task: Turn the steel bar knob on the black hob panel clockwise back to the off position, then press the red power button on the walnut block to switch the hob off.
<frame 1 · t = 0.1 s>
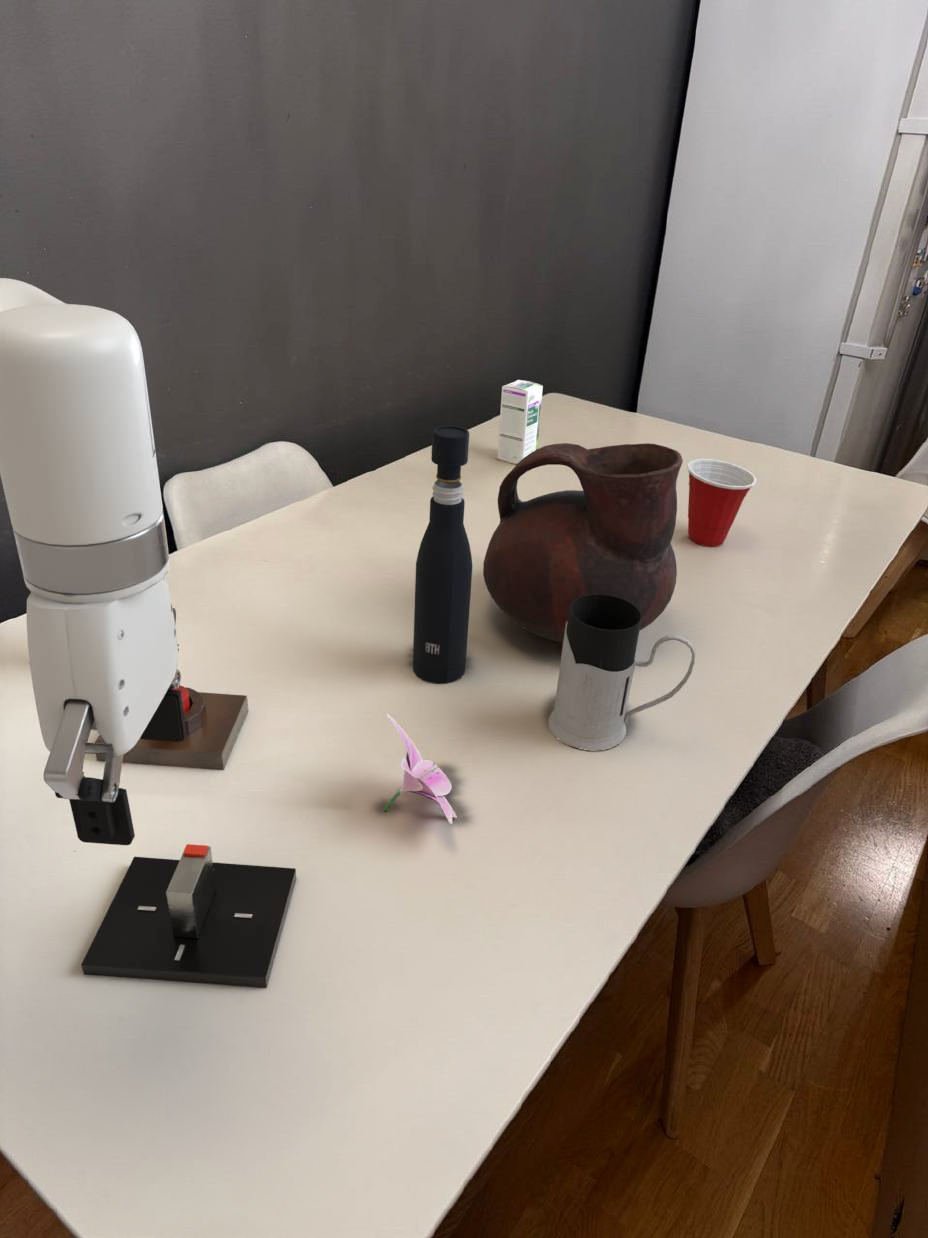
hand: (137, 785, 57), 21 cm above the table, tool pointing down, fingers open, 9 cm apart
plastic cup: (707, 540, 144), on the table
syrup box: (516, 459, 171), on the table
hob panel: (198, 934, 72), on the table
power button: (171, 701, 92), point 4 cm above the table, slide at 0.1 cm
jug: (571, 621, 119), on the table
glass holder: (610, 733, 99), on the table
lily: (421, 814, 86), on the table
beer glass: (91, 664, 104), on the table
hob knob: (191, 890, 70), point 5 cm above the table, hinge at 90.0°
switch block: (175, 735, 94), on the table
black insulated flask: (438, 670, 108), on the table
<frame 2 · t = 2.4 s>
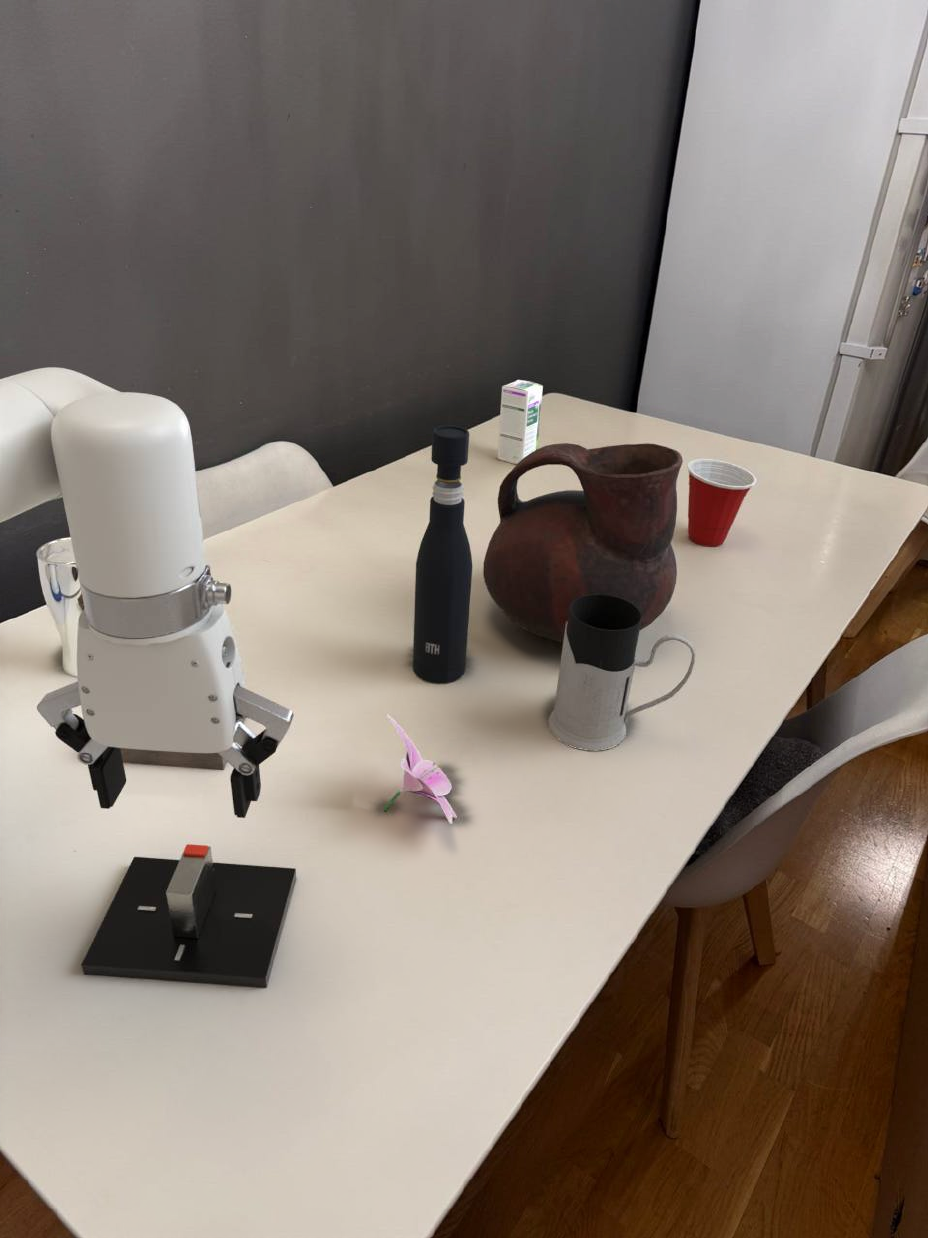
hand: (179, 800, 64), 15 cm above the table, tool pointing down, fingers open, 9 cm apart
nothing on the table moved.
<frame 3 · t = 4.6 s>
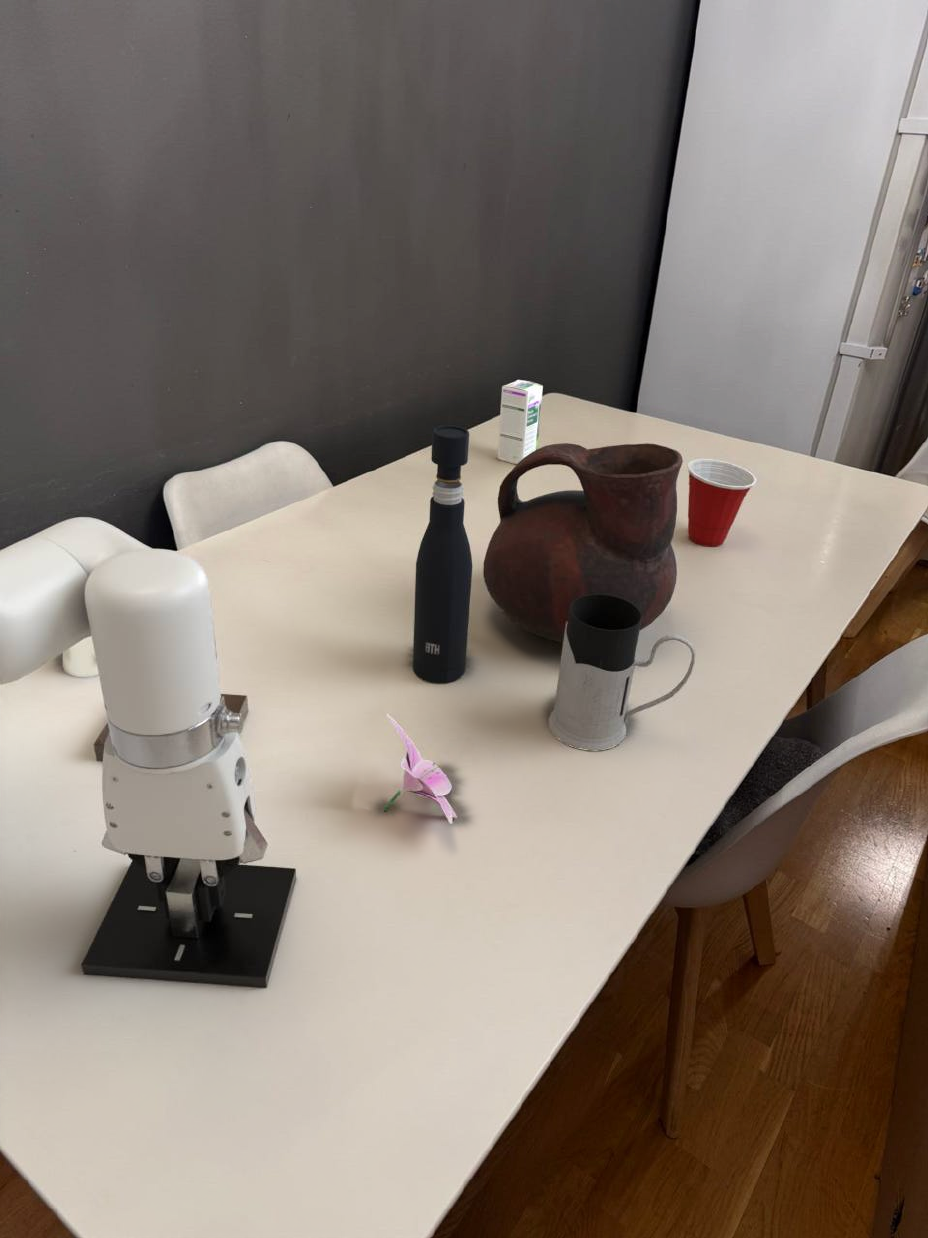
hand: (194, 905, 71), 3 cm above the table, tool pointing down, fingers closed on hob knob, 2 cm apart
hob knob: (191, 890, 70), point 5 cm above the table, hinge at 90.0°, touching gripper
everything else where it was.
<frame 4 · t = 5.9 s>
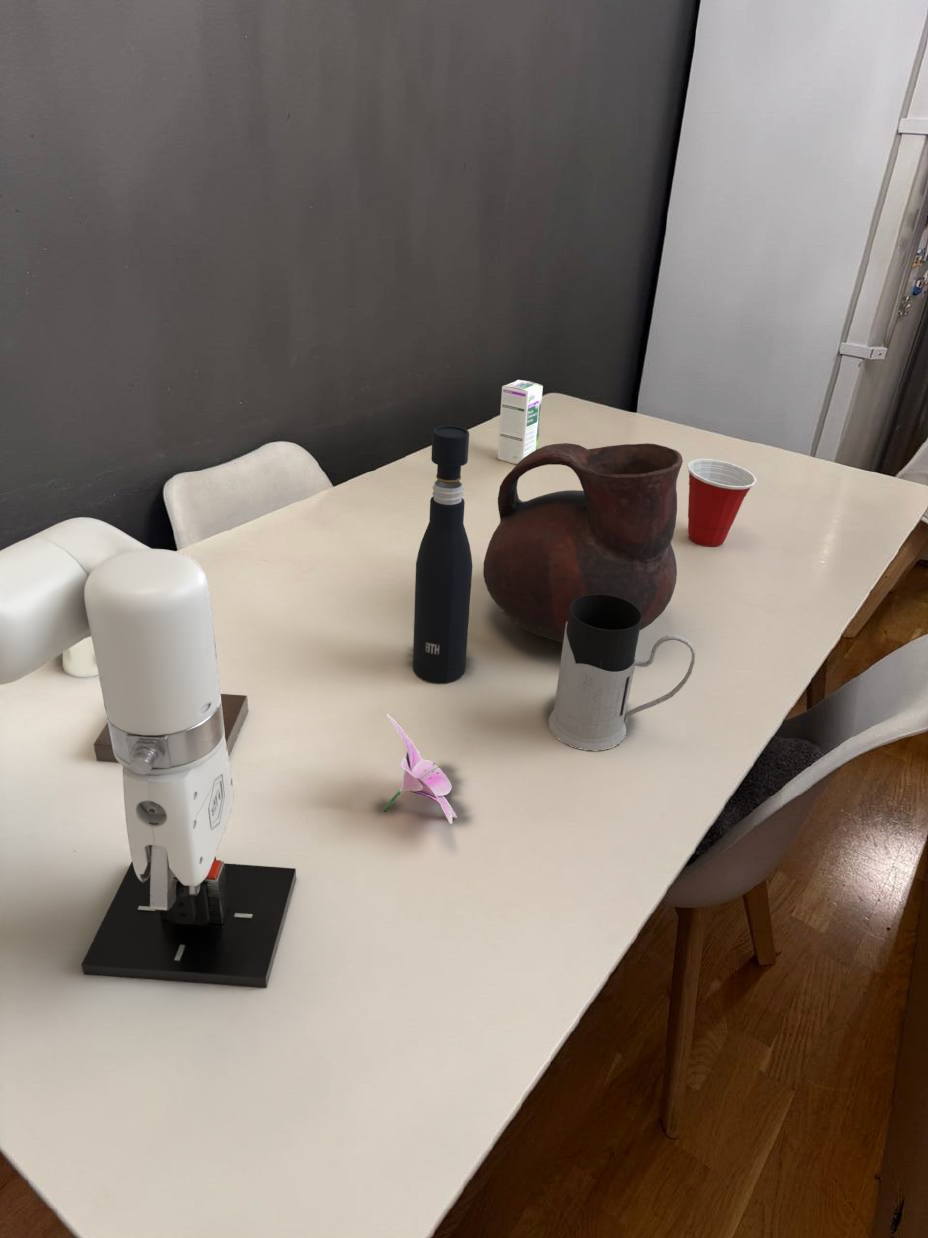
hand: (194, 905, 71), 3 cm above the table, tool pointing down, fingers closed on hob knob, 2 cm apart
hob knob: (191, 890, 70), point 5 cm above the table, hinge at 0.5°, touching gripper
everything else where it was.
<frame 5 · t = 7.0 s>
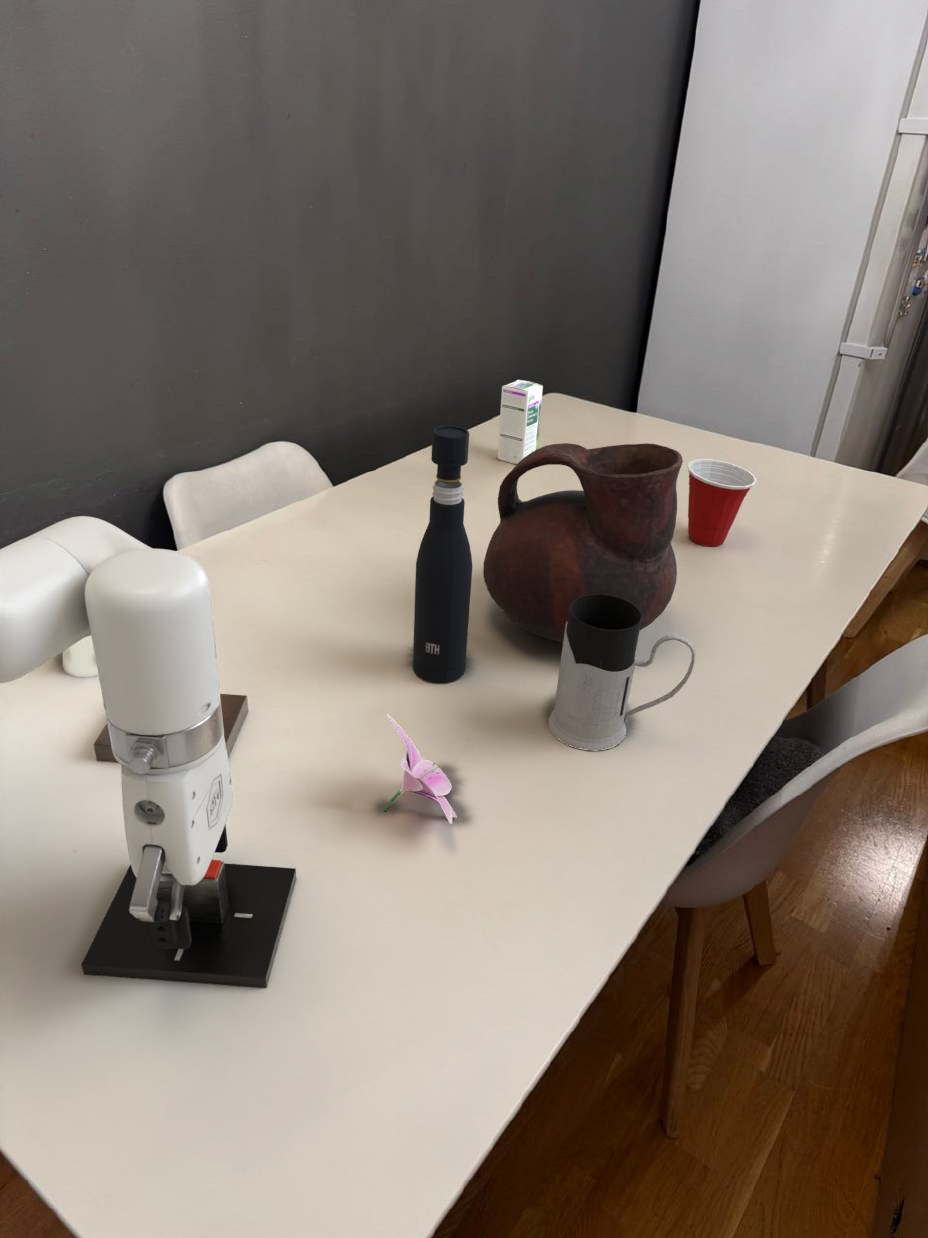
hand: (190, 894, 70), 5 cm above the table, tool pointing down, fingers open, 9 cm apart
hob knob: (191, 890, 70), point 5 cm above the table, hinge at 0.6°
everything else where it was.
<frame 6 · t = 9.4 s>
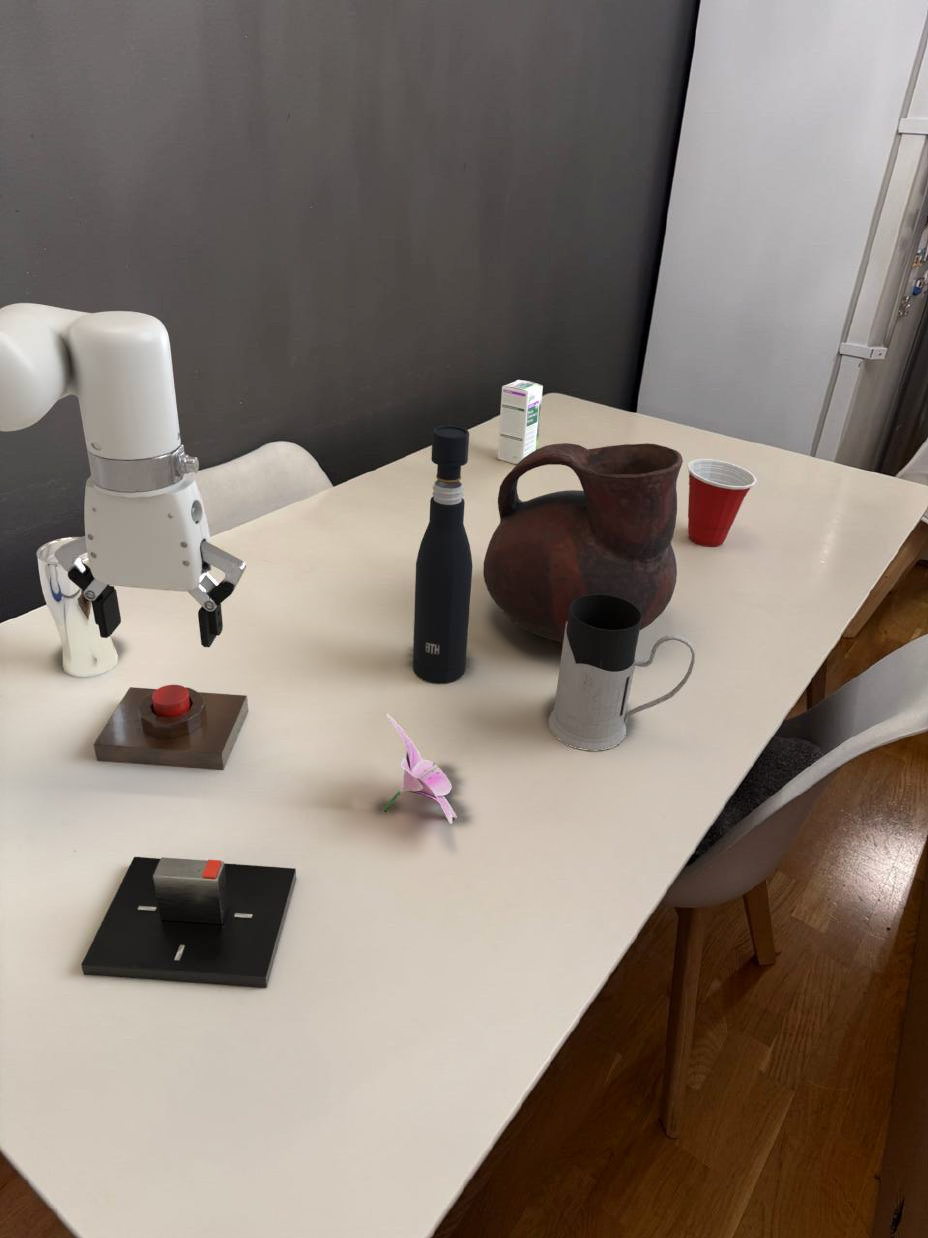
hand: (160, 635, 84), 14 cm above the table, tool pointing down, fingers open, 9 cm apart
nothing on the table moved.
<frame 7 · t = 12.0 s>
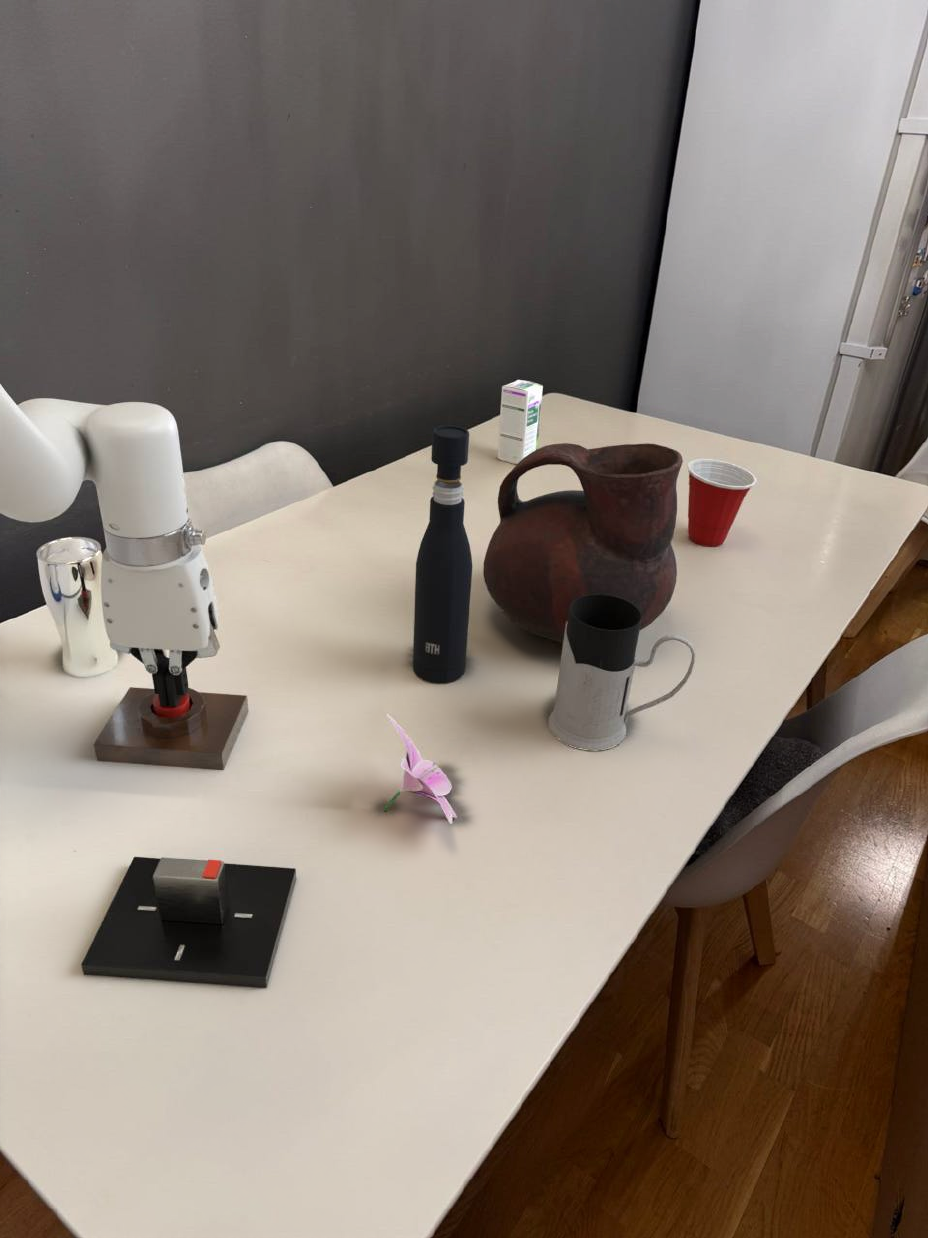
hand: (173, 698, 92), 5 cm above the table, tool pointing down, fingers closed
power button: (171, 705, 92), point 4 cm above the table, slide at -0.5 cm, touching gripper
everything else where it was.
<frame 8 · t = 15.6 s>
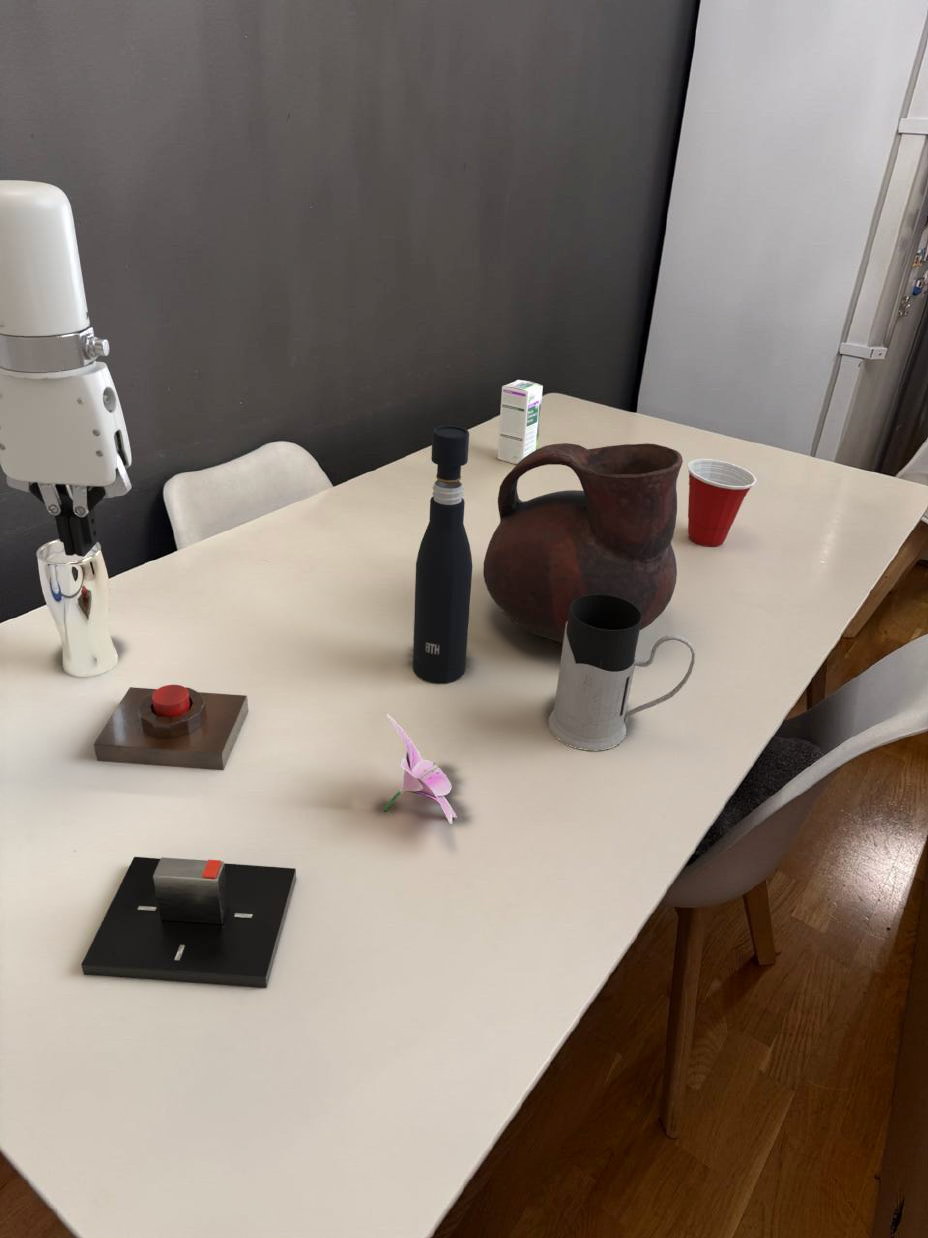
hand: (81, 549, 82), 22 cm above the table, tool pointing down, fingers closed
power button: (171, 701, 92), point 4 cm above the table, slide at 0.1 cm
everything else where it was.
at the end: hob knob at +1° (first picture: +90°); power button pushed in 1.1 cm at the most during the clip, back to where it started at the end; power button slide at 0.1 cm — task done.
